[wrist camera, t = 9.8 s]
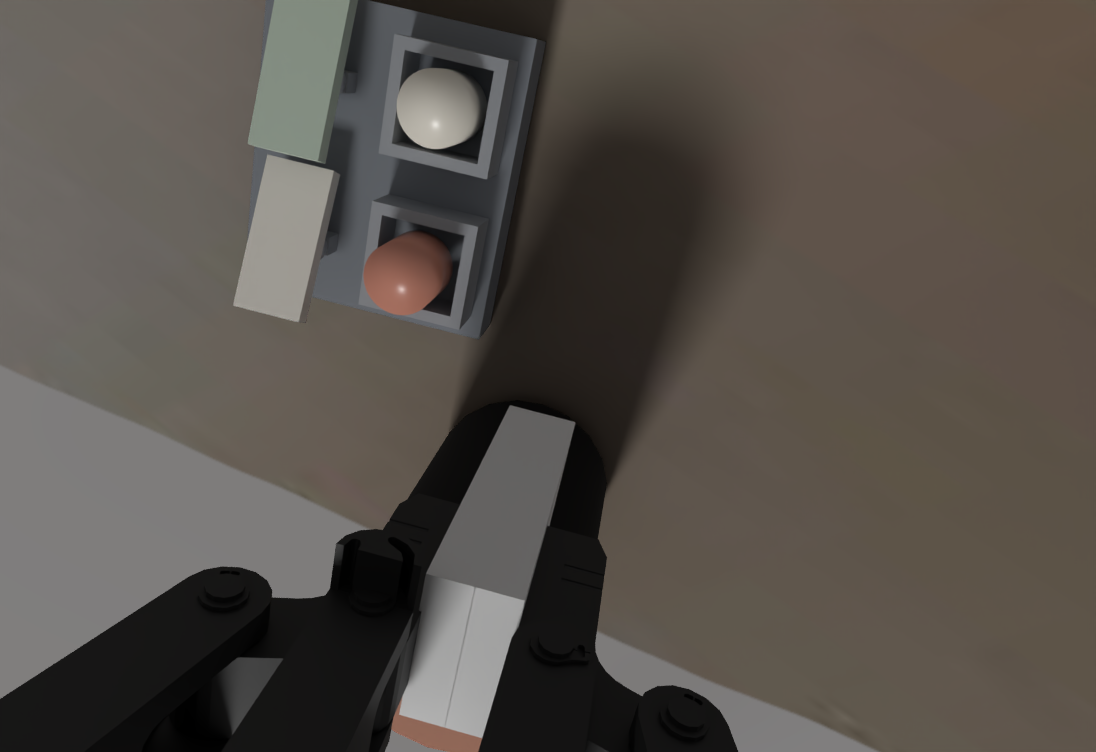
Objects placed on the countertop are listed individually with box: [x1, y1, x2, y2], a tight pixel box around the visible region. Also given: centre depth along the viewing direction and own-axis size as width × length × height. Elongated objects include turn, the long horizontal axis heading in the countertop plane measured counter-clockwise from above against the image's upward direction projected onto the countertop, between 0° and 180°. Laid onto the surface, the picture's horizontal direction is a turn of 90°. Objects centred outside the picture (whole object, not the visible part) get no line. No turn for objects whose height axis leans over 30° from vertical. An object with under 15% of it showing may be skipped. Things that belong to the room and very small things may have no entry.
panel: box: [247, 0, 546, 339], centre depth 43 cm, size 14×16×6 cm
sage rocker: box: [248, 0, 358, 164], centre depth 40 cm, size 4×8×2 cm, turn 168°
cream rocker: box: [233, 154, 340, 323], centre depth 43 cm, size 4×8×2 cm, turn 168°
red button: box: [363, 230, 453, 315], centre depth 41 cm, size 4×4×3 cm
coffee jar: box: [391, 401, 607, 752], centre depth 43 cm, size 11×11×18 cm
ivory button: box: [397, 68, 487, 149], centre depth 39 cm, size 4×4×3 cm
